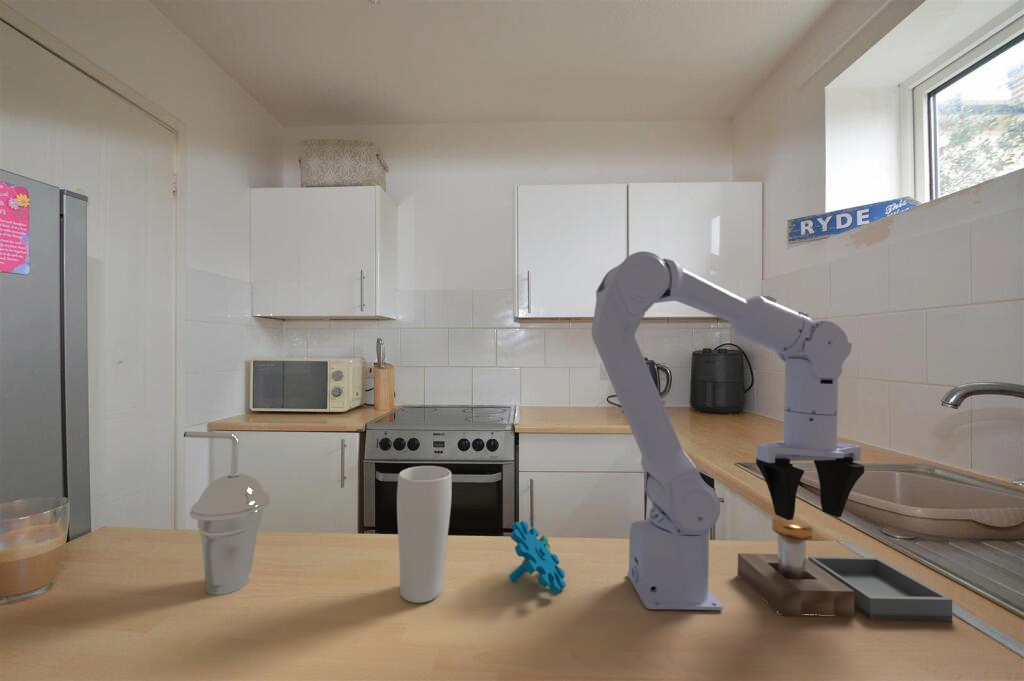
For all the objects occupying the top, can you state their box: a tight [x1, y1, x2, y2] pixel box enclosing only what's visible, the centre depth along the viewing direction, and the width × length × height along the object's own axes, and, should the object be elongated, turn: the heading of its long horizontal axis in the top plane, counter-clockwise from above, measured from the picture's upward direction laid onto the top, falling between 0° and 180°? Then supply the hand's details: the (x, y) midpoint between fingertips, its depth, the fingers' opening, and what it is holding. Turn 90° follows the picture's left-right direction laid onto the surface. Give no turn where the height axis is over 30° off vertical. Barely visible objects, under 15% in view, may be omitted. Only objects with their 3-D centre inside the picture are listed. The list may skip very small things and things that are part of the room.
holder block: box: [737, 553, 855, 618], centre depth 54 cm, size 9×9×3 cm
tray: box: [807, 556, 953, 622], centre depth 54 cm, size 10×10×2 cm
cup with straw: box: [183, 430, 271, 596], centre depth 53 cm, size 8×9×20 cm
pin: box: [771, 517, 814, 579], centre depth 54 cm, size 4×4×9 cm
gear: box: [508, 520, 567, 595], centre depth 56 cm, size 11×6×10 cm
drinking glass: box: [396, 465, 453, 604], centre depth 52 cm, size 7×7×15 cm
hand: (808, 515), depth 54 cm, fingers open, 7 cm apart
